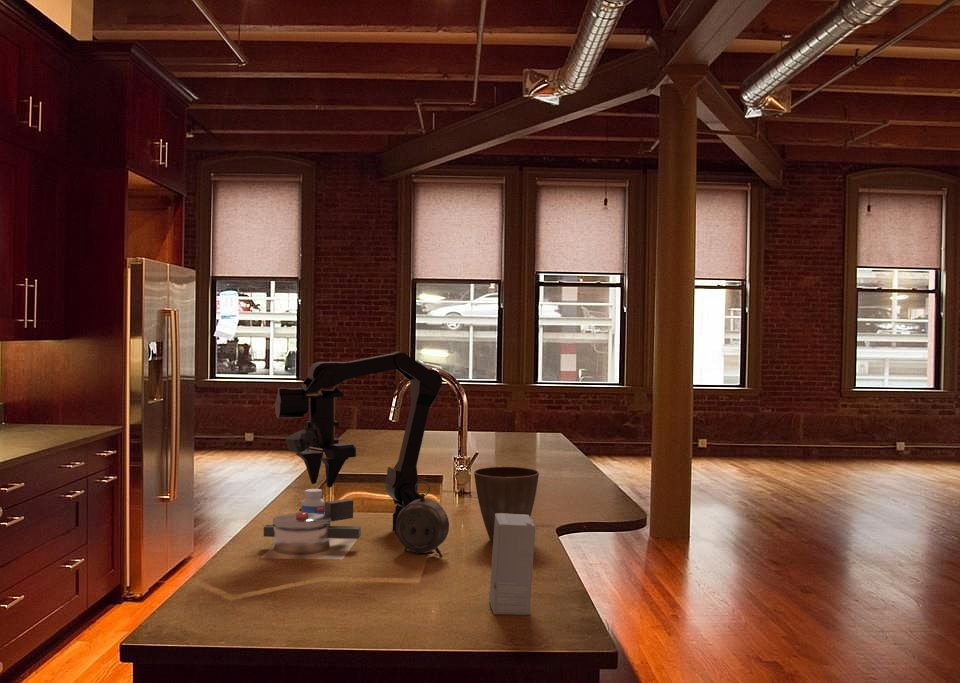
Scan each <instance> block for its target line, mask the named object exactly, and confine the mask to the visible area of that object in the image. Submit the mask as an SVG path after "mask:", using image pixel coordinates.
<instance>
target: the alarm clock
mask: <svg viewBox="0 0 960 683" xmlns="http://www.w3.org/2000/svg"><path fill="white" fill-rule="evenodd" d="M420 483H425V484H426V485H427V486H428V491H427V493H423V492H422V493H419V492H418V489H417V490H416V486H417V485H418V486H419V484H420ZM415 491H416V493H417V494H418V493H419V494H418V495H420V496H421V499H417V500H414V501H412V502H411V503H409V504H408V505H407V506H405V507H404V508H403V509H402V510H401V511H400V513H399V514H398V516H397V519H396V531H395V533H396V536H397V538H398V541H399V542H400V543H401V544H402V546H404V549H403V551H408V550H409V551H411V552H413V553H415V556H420V554H426V553H430V552H432V551H435V552H436V553H437V554H438V555H439V557H440V558H443V554H442V553H441V550H440V548H439V546H441V545H443V543H444V541H445V540H446V539H447V537H448V534H449V530H450V522H449V517H448V515H447V512H446V511H445V510H444V508H443V507H442V506H441V505H440V504H439V503H438V502H436V501H434V500H432V499H429V498H425V496H426V497H427V495H429V493H430V491H431V486H430V484H429V483H428V482H427V481H425V480H418V482H417V483H416V485H415Z"/></svg>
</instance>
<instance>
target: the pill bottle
mask: <svg viewBox="0 0 960 683" xmlns="http://www.w3.org/2000/svg"><path fill="white" fill-rule="evenodd" d="M322 496H323V490H322V489H320V488H309V489H305V490H304V497H305V498H304V499H302V501H301V510H300V512H307V513H316V514H324V515H325V500H324V499H323V498H322Z"/></svg>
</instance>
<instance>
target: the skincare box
mask: <svg viewBox="0 0 960 683" xmlns="http://www.w3.org/2000/svg"><path fill="white" fill-rule="evenodd" d="M533 521H534V519H533V518H531V516H529V515H525V514H507V513H496V514H495V523H494V538H493V542H492V552H491V553H492V555H491V567H490V583H489V584H490V585H489V595H488V597H489V598H488V599H489V604H490V607H491V611H492V613H493V615H517V616H519V615H520V616H522V615H523V616H525V615H530V614H531V601H532V600H531V599H532V598H531V597H532V584H533V583H532V582H533V568H534V554H535V542H536V540H535V538H536V524H534V522H533Z"/></svg>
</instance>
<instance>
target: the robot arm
mask: <svg viewBox="0 0 960 683" xmlns="http://www.w3.org/2000/svg"><path fill="white" fill-rule="evenodd" d="M393 370H397V371H398V373H400V374H401V376H403V377H404V378H406V379H407V380H409V381H410V384H409V385H410V386H409V394H410V395H409V396H410V402H411V404H410V408H409V412H408V416H407V421H406V426H405V429H404V434H403V438H402V443H401V447H400V452H399V455H398V460H397V462H396V464H395V465H394V467H393V468H392V467H390V466H388V467H387V469H386V472H387V473H386V478H385V480H384V482H383V484H384V485H385V492H386V493H387V495H388V496H389V497H390V498H391V499H392V501H393V503H394V505H396V506H395V511H394V512H393V513H392V532H394V531H395V532H396V519H397V516H398V514H399V513H400V511H401V510H402V509H403V508H404V507H405V506H407V505H408V504H409V503H411V502H412V501H414V500H417V499H421V496H420V495H418V494H420V492H418V494H417V493H416V491H415V485H416V483H417V482H419V476H418V469H417V468H418V467H417V465H418V461H419V456H420V453H421V449H422V448H421V447H422V444H423V439H424V434H425V431H426V426H427V420H428V418H429V413H430V409H431V407H432V405H433V404H434V402H435V401H436V399H437V397H438V396H439V392H440V391H441V388H442V385H443V377H442V375H441V374H440V372H438V370H437V369H433V368H429V367H426V366H425V365H424V364H421V363H420V362H418V361H416V360H415V359H413V358H412V357H411V356H409V355H408V354H407V353H406V352H404V351H393V352H391V353H387V354H381V355H377V356H371V357H366V358H361V359H355V360H348V361H316V362H314V363H312V364H311V365H310V367H309V368H308V372H307V376H306V378H305V379H304V380H303V381H302V383H301V385H300V386H299V387H298V388H287V387H286V388H285V387H278V388H277V394H276V399H275V402H274V409H275V416H276V418H277V419H297V418H298V419H302V418H304V416H305V415H307V414H308V412H309V421H305V423H304V428H302V429H301V430H298V431H296V432H294V433H292V434H290V435H288V436H286V437H285V441H286V444H287V446H288V451H289V452H295V455H296V456H297V457H299V458H301V459H302V461H303V462H304V465H305V466H306V467H305V468H306V471H307V474H308V477H309V480H310V483H311V485H316V484H317V482H318V479H319V475H320V470H321V466H322V463H323V464H324V467H325V481H326V487H327V488H332V487H333V485H334V483H336V482H335V481H336V480H337V477H338V475H339V473H340V472H341V469H342V468H343V466H344V464H345V463H346V461H347V460H349V458H356V457H357V447H356V446H355V445H354V444H353V443H347V442H341V443H339V441H340V440H339V439H337V438H335V437H336V436H335V435H336V433H335V432H336V427H339V426H340V424H339V421H337V420H336V398H344V397H345V394H344V393H343V392H342V391H341V390H340V389H339V387H338V386H337V385H340V384H343V382H344V383H345V382H346V381H348V380H350V379H354V378H357V377H362V376H367V375H368V376H369V375H371V374H373V375H374V374H377V373H383V372H387V371H393ZM332 387H333V388H332ZM328 388H332V389H328ZM324 455H325V457H323V456H324ZM418 488H419V484H418V485H417V486H416V490H417V491H418V490H419V489H418Z"/></svg>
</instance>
